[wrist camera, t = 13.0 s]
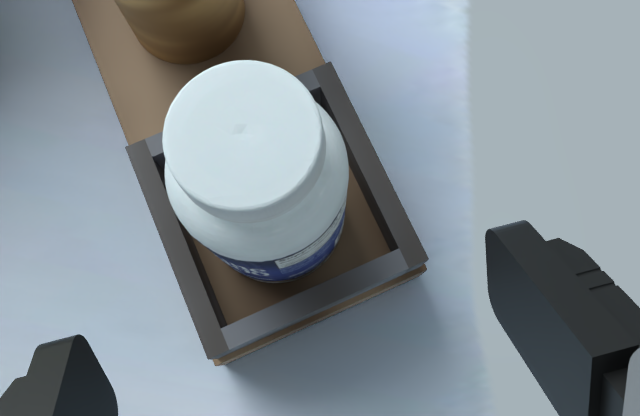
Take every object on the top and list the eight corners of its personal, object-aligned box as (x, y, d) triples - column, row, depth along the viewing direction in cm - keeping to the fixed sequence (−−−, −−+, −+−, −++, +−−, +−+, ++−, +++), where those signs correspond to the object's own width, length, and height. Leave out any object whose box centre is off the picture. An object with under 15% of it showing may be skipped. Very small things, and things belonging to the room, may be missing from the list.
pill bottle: (183, 214, 24) (87, 126, 15) (283, 129, 25) (252, -6, 15) (271, 314, 23) (228, 289, 14) (372, 223, 24) (398, 139, 14)
